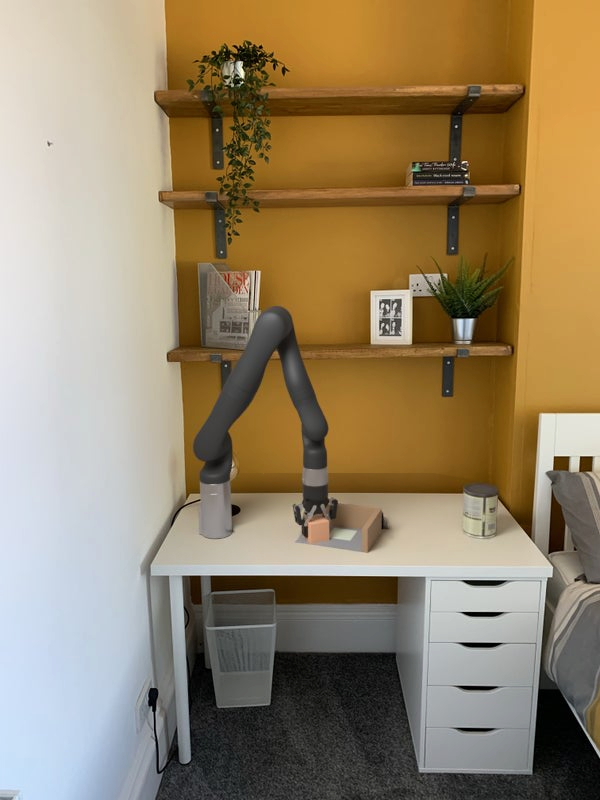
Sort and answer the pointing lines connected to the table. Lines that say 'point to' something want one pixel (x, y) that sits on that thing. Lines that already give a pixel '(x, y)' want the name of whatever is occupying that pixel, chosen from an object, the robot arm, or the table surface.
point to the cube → (318, 529)
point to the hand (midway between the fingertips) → (315, 534)
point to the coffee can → (480, 510)
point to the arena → (352, 528)
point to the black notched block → (384, 523)
